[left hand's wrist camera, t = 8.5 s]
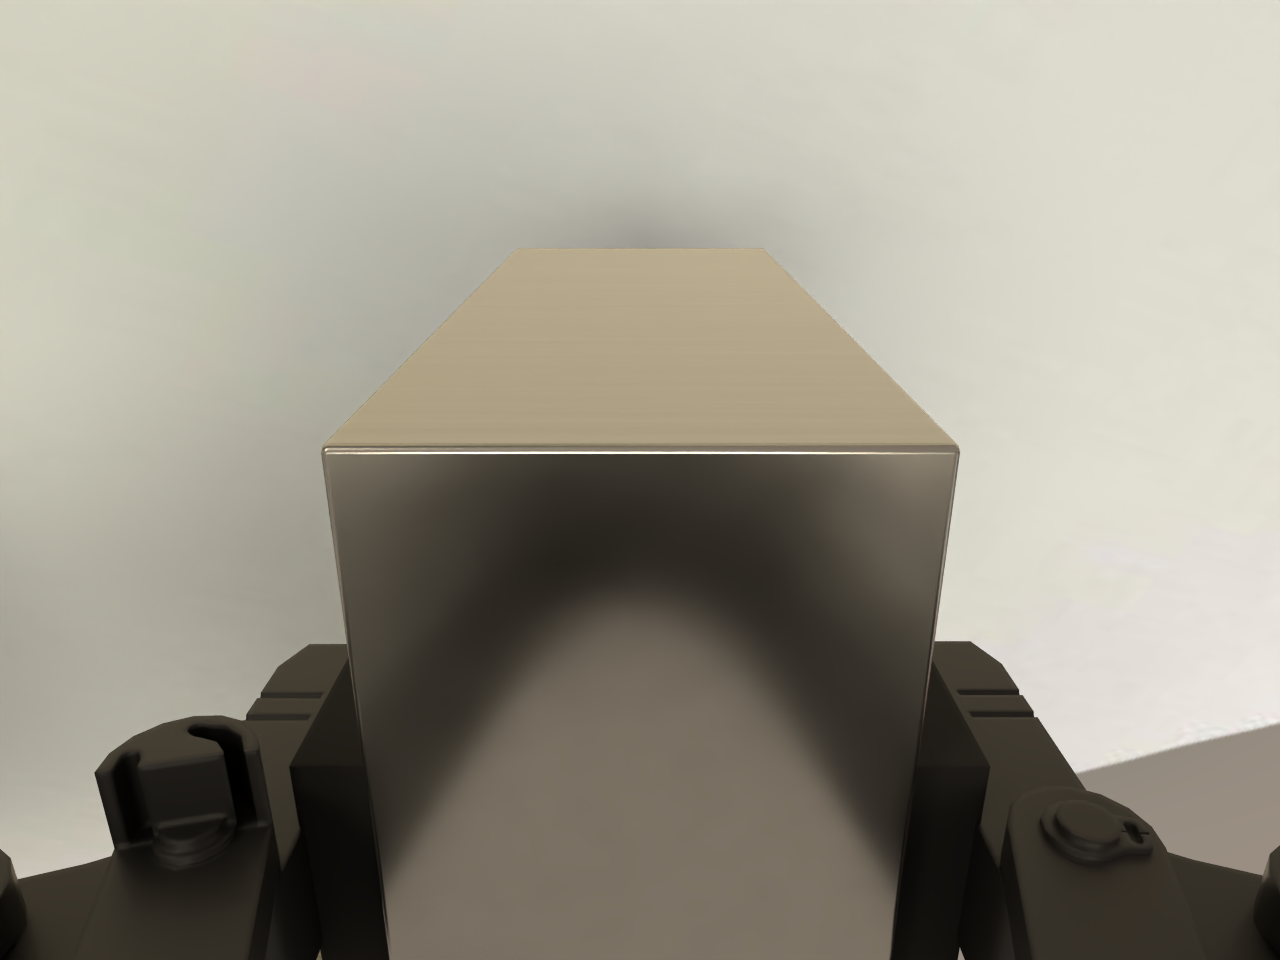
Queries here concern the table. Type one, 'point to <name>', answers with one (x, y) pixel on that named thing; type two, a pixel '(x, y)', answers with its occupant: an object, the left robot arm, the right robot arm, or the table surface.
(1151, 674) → the table surface
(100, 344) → the table surface
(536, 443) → the block
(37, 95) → the table surface
